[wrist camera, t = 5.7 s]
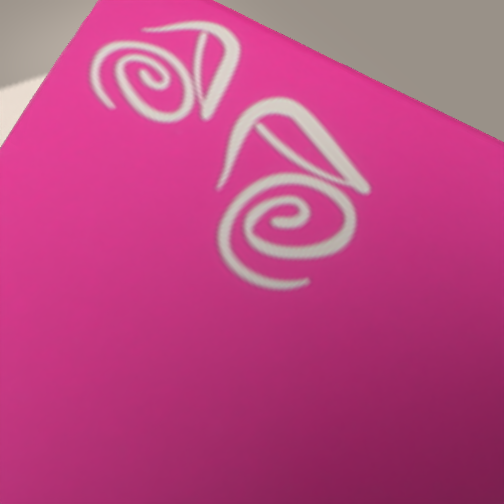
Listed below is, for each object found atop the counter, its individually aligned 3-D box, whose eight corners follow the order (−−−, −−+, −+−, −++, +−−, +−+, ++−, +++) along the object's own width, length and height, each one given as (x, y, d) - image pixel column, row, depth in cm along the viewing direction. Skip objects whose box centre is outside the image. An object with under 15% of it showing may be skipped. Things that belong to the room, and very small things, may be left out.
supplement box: (325, 333, 15) (761, 241, 4) (251, 525, 13) (642, 1330, 2) (160, 254, 15) (120, -83, 4) (63, 441, 13) (-571, 882, 2)
